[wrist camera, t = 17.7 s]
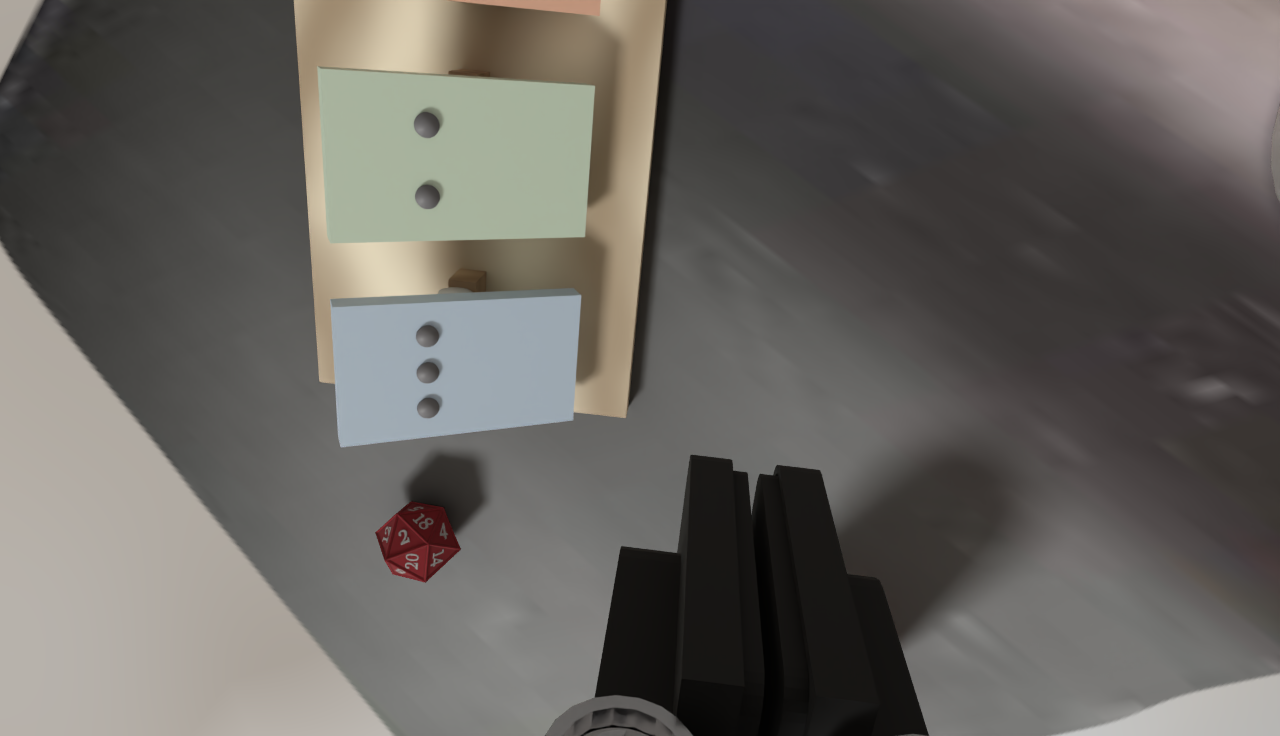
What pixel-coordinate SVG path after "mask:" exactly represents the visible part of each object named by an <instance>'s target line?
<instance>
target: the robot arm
mask: <svg viewBox="0 0 1280 736" xmlns="http://www.w3.org/2000/svg"><path fill="white" fill-rule="evenodd" d="M1271 170H1272V175H1273V181H1274V186H1275V191H1276V195H1277V197H1278V199H1279V202H1280V106H1279V109H1278V114H1277V118H1276V122H1275V126H1274V131H1273V135H1272V150H1271ZM545 736H929V734H928V731H927V728H926V725H925V722H924V718H923V715H922V712H921V709H920V706H919V702H918V699H917V696H916V693H915V690H914V686H913V683H912V680H911V677H910V674H909V670H908V667H907V664H906V661H905V658H904V654H903V651H902V648H901V645H900V641H899V638H898V635H897V632H896V629H895V625H894V622H893V619H892V616H891V613H890V609H889V606H888V603H887V600H886V597H885V593H884V590H883V588H882V585H881V583H880V581H879V580H878V579H876V578H873V577H865V576H857V575H849V574H847V572H846V568H845V565H844V561H843V557H842V553H841V549H840V545H839V541H838V537H837V533H836V529H835V525H834V521H833V517H832V513H831V509H830V505H829V501H828V498H827V494H826V490H825V486H824V482H823V478H822V474H821V472H820V470H815V469H806V468H798V467H790V466H781V465H777V466H776V468H775V471H774V474H773V475H764V474H760V475H759V477H758V481H757V486H756V492H755V497H754V503H753V509H752V515H751V506H750V495H749V483H748V474H747V472H739V471H733V463H732V460H731V459H723V458H714V457H706V456H698V455H691V456H690V461H689V468H688V475H687V482H686V490H685V498H684V505H683V513H682V520H681V528H680V536H679V543H678V551H677V553H672V552H664V551H656V550H648V549H640V548H632V547H624V546H621V549H620V554H619V560H618V566H617V572H616V577H615V583H614V589H613V595H612V601H611V606H610V612H609V618H608V624H607V630H606V635H605V641H604V647H603V653H602V659H601V664H600V670H599V676H598V682H597V688H596V693H595V698H592V699H589V700H587V701H584V702H582V703H579V704H577V705H574V706H572V707H571V708H569V709H568V710H567V711H566V712H564V713H563V714H562V715H560V716H559V717H558V718H557V719H555V721H554V722H553V724H552V725H551V727H550V728H549V730H548V731H547V733H546V734H545Z"/></svg>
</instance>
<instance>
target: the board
mask: <svg viewBox="0 0 1280 736" xmlns="http://www.w3.org/2000/svg"><path fill="white" fill-rule="evenodd" d="M666 7H667V0H601V3H600V16H594V15H584V14H574V13H564V12H554V11H545V10H535V9H525V8H516V7H506V6H496V5H486V4H477V3H467V2H457V1H448V0H294V8H295V23H296V38H297V52H298V67H299V82H300V97H301V112H302V127H303V142H304V157H305V172H306V187H307V201H308V216H309V231H310V246H311V261H312V276H313V291H314V306H315V321H316V336H317V350H318V365H319V380H320V382H325V383H333V384H335V373H334V356H333V339H332V322H331V305H330V299H339V298H361V297H383V296H405V295H428V294H438V291H439V290H441V289H443V288H449V287H459V288H465V289H468V290H471V291H472V292H495V291H517V290H539V289H561V288H574V289H575V290H576V291H577V292H578V293H579V294H581V307H580V322H579V337H578V352H577V367H576V382H575V397H574V412H579V413H587V414H596V415H604V416H613V417H621V418H626V415H627V411H628V404H629V394H630V384H631V373H632V363H633V352H634V342H635V331H636V321H637V310H638V300H639V289H640V279H641V269H642V258H643V248H644V237H645V227H646V216H647V206H648V195H649V185H650V174H651V164H652V154H653V143H654V133H655V122H656V112H657V101H658V91H659V80H660V70H661V59H662V49H663V39H664V28H665V18H666ZM317 66H323V67H338V68H354V69H370V70H385V71H401V72H417V73H433V74H448V75H464V76H480V77H496V78H511V79H527V80H543V81H559V82H574V83H586V84H590V85H594V86H595V94H594V109H593V124H592V139H591V154H590V169H589V184H588V199H587V214H586V229H585V237H569V238H528V239H488V240H448V241H407V242H367V243H330V241H329V239H328V237H327V224H326V207H325V190H324V173H323V156H322V139H321V122H320V105H319V88H318V71H317Z"/></svg>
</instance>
